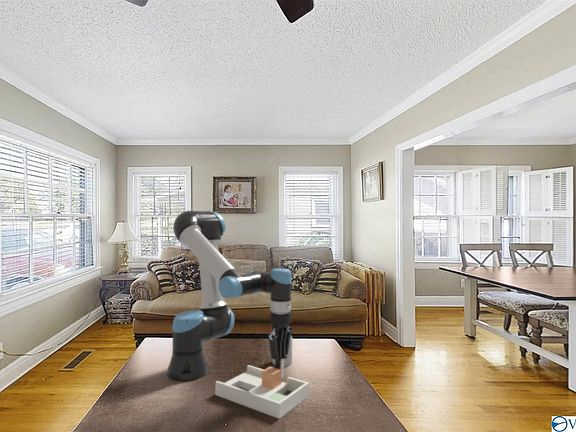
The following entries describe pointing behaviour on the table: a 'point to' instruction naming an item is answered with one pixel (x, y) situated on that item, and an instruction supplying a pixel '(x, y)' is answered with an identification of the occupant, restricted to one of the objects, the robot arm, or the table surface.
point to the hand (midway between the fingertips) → (279, 376)
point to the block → (271, 377)
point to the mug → (289, 357)
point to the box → (263, 392)
